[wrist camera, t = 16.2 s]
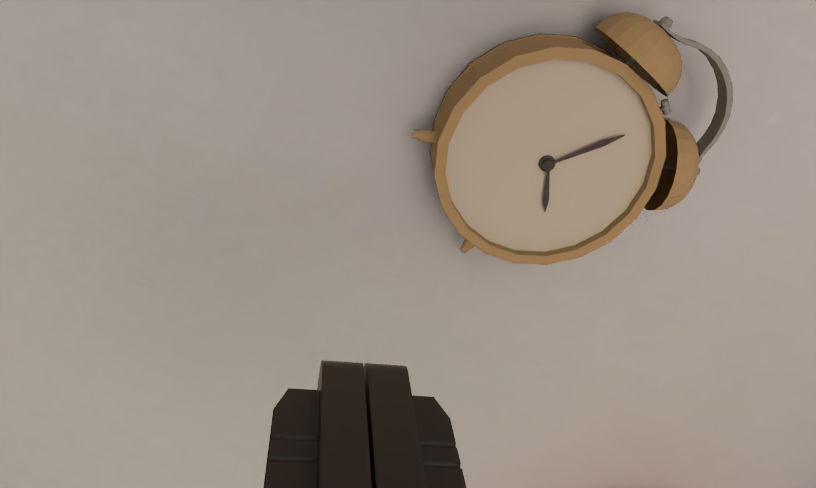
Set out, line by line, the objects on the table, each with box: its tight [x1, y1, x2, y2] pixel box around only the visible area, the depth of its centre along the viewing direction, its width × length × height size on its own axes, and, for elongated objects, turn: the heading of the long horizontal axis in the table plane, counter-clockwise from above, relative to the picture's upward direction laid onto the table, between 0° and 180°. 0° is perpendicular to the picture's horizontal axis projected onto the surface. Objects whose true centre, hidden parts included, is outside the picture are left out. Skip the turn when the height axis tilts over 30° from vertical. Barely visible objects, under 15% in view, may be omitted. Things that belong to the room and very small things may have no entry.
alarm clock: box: [412, 13, 733, 265], centre depth 31 cm, size 11×5×15 cm
